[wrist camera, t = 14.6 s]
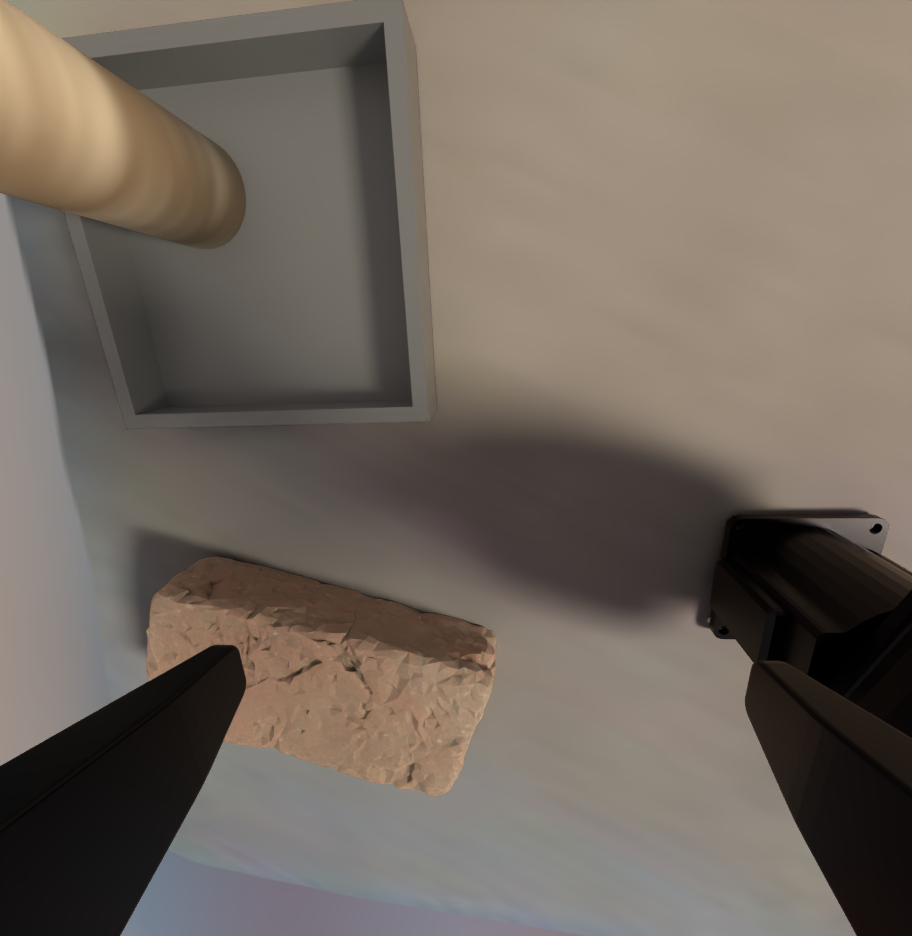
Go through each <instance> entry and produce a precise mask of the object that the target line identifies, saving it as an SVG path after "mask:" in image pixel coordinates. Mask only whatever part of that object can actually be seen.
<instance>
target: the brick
mask: <svg viewBox="0 0 912 936" xmlns="http://www.w3.org/2000/svg"><path fill="white" fill-rule="evenodd" d="M149 622H150V625H149V627H148V628H147V630H146V633H147V661H146V667H147V674H148V677H149V681H150V680H152V679H154V678H156V677H157V676H159V675H161V674H163V673H164V672H166V671H168V670H170V669H171V668H173V667H175V666H177V665H178V664H180V663H182V662H184V661H185V660H187V659H189V658H191V657H192V656H194V655H196V654H198V653H199V652H201V651H203V650H205V649H206V648H208V647H210V646H212V645H217V644H219V645H234V646H236V647H237V648H238V649H239V652H240V656H241V660H242V664H243V668H244V672H245V676H246V690H245V693H244V696H243V698H242V700H241V703H240V705H239V707H238V709H237V711H236V714H235V716H234V718H233V720H232V723H231V725H230V727H229V729H228V732H227V734H226V736H225V738H224V740H223V741H226V742H230V743H233V744H237V745H245V744H246V745H250V746H253V747H261V748H265V747H274V748H276V749H277V750H279V751H280V752H281V753H284V754H291V755H293V756H295V757H298V758H301V759H304V760H307V761H310V762H313V763H316V764H319V765H322V766H325V767H331V768H333V769H335V770H337V771H340V772H344V773H347V774H349V775H352V776H356V777H360V778H363V779H364V780H366V781H370V782H375V783H379V784H389V783H392V784H393V785H394V786H395V787H396V788H399V789H416V790H420V791H423V792H425V793H426V794H428V795H430V796H441V795H443V794H445V793H446V792H448V791H450V789H451V787H452V785H453V783H454V781H455V780H456V779H457V778H458V774H459V772H460V770H461V769H462V768H463V762H464V755H465V753H466V751H467V749H468V745H469V742H470V739H471V737H472V735H473V732H474V730H475V727H476V725H477V724H478V722H479V721H480V719H481V718H482V717H483V712H484V708H485V706H486V704H487V702H488V699H489V696H490V693H491V690H492V686H493V682H494V675H495V653H496V636H495V635H494V633H493V632H492V631H490V630H487V629H486V628H485V627H481V626H477V625H473V624H470V623H468V622H466V621H464V620H462V619H457V618H453V617H449V616H445V615H440V614H434V613H422V614H421V613H420V612H419V611H417V610H414V609H412V608H409V607H407V606H405V605H402V604H399V603H396V602H393V601H385V600H383V599H378V598H371V597H369V596H365V595H363V594H361V593H360V592H358V591H354V590H349V589H344V588H341V587H337V586H334V585H329V584H321V583H319V582H318V581H316V580H313V579H310V578H306V577H302V576H297V575H293V574H290V573H287V572H284V571H280V570H276V569H272V568H269V567H265V566H262V565H253V564H249V563H246V562H239V561H235V560H232V559H229V558H222V557H208V558H204V559H200V560H198V561H196V562H195V563H194V564H192V565H190V566H189V567H188V568H187V569H186V570H185V571H182V572H180V573H177V574H176V575H175V576H174V577H173V578H172V579H171V580H170V581H169V582H168V583H167V584H166V585H165V586H164V587H162V588H161V589H160V590H159V591H158V592H157V593H156V594H155V595H154V596H153V598H152V601H151V606H150V620H149Z"/></svg>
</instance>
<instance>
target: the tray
mask: <svg viewBox="0 0 912 936" xmlns="http://www.w3.org/2000/svg"><path fill="white" fill-rule="evenodd" d="M62 39H63V40H65V41H66V42H68V43H69V44H70V45H72V46H73V47H75V48H76V49H78V50H79V51H81V52H82V53H84V54H85V55H87V56H88V57H90V58H91V59H93V60H94V61H96V62H97V63H98V64H100V65H101V66H103V67H104V68H106V69H107V70H109V71H110V72H112V73H113V74H115V75H116V76H118V77H119V78H121V79H122V80H124V81H125V82H126V83H128V84H129V85H131V86H132V87H134V88H135V89H137V90H138V91H140V92H141V93H143V94H144V95H146V96H147V97H149V98H150V99H152V100H153V101H154V102H156V103H157V104H159V105H160V106H162V107H163V108H165V109H166V110H168V111H169V112H171V113H172V114H174V115H175V116H177V117H178V118H180V119H181V120H182V121H184V122H185V123H187V124H188V125H190V126H191V127H193V128H194V129H196V130H197V131H199V132H200V133H202V134H203V135H205V136H206V137H208V138H209V139H210V140H212V141H213V142H215V143H216V144H218V145H219V146H220V147H222V148H223V149H224V150H225V151H226V152H227V153H228V155H229V156H230V157H231V158H232V160H233V161H234V163H235V164H236V166H237V168H238V170H239V172H240V174H241V177H242V180H243V183H244V187H245V193H246V210H245V216H244V219H243V222H242V225H241V227H240V229H239V231H238V232H237V234H236V235H235V236H234V237H233V238H232V239H231V240H230V241H229V242H228V243H226V244H225V245H223V246H221V247H218V248H215V249H208V250H207V249H198V248H193V247H190V246H186V245H183V244H179V243H176V242H172V241H169V240H165V239H162V238H158V237H154V236H151V235H147V234H144V233H140V232H137V231H133V230H130V229H126V228H123V227H119V226H116V225H112V224H109V223H105V222H101V221H98V220H94V219H91V218H87V217H84V216H80V215H77V214H73V213H70V212H66V211H64V214H65V218H66V221H67V225H68V228H69V232H70V235H71V239H72V242H73V246H74V249H75V253H76V256H77V260H78V263H79V267H80V270H81V274H82V277H83V280H84V284H85V287H86V291H87V294H88V298H89V301H90V305H91V308H92V312H93V315H94V319H95V322H96V326H97V329H98V333H99V336H100V340H101V343H102V347H103V350H104V353H105V357H106V360H107V364H108V367H109V371H110V374H111V378H112V381H113V385H114V388H115V392H116V395H117V399H118V402H119V406H120V409H121V413H122V416H123V419H124V423H125V426H126V429H144V428H184V427H223V426H263V425H303V424H343V423H382V422H422V421H429V420H430V419H431V418H432V416H433V415H434V414H435V412H436V411H437V401H436V384H435V367H434V349H433V332H432V315H431V298H430V280H429V263H428V246H427V229H426V212H425V194H424V177H423V160H422V143H421V125H420V108H419V91H418V74H417V57H416V45H415V42H414V38H413V35H412V31H411V28H410V24H409V21H408V17H407V14H406V10H405V7H404V3H403V0H355V1H347V2H339V3H332V4H324V5H316V6H308V7H301V8H293V9H285V10H277V11H269V12H262V13H254V14H246V15H238V16H231V17H223V18H215V19H207V20H200V21H192V22H184V23H176V24H169V25H161V26H153V27H145V28H138V29H130V30H122V31H114V32H107V33H99V34H91V35H83V36H76V37H68V38H62Z"/></svg>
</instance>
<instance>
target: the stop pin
mask: <svg viewBox="0 0 912 936" xmlns="http://www.w3.org/2000/svg"><path fill="white" fill-rule="evenodd" d="M0 193H3V194H6V195H10V196H13V197H17V198H20V199H24V200H27V201H31V202H34V203H38V204H41V205H45V206H49V207H52V208H56V209H59V210H63V211H66V212H70V213H73V214H77V215H80V216H84V217H87V218H91V219H94V220H98V221H101V222H105V223H109V224H112V225H116V226H119V227H123V228H126V229H130V230H133V231H137V232H140V233H144V234H147V235H151V236H154V237H158V238H162V239H165V240H169V241H172V242H176V243H179V244H183V245H186V246H190V247H193V248H198V249H207V250H208V249H215V248H218V247H221V246H223V245H225V244H226V243H228V242H229V241H230V240H231V239H232V238H233V237H234V236H235V235H236V234H237V232H238V231H239V229H240V227H241V225H242V222H243V219H244V216H245V210H246V193H245V187H244V183H243V180H242V177H241V174H240V172H239V170H238V168H237V166H236V164H235V163H234V161H233V160H232V158H231V157H230V156H229V155H228V153H227V152H226V151H225V150H224V149H223V148H222V147H220V146H219V145H218V144H216V143H215V142H213V141H212V140H210V139H209V138H208V137H206V136H205V135H203V134H202V133H200V132H199V131H197V130H196V129H194V128H193V127H191V126H190V125H188V124H187V123H185V122H184V121H182V120H181V119H180V118H178V117H177V116H175V115H174V114H172V113H171V112H169V111H168V110H166V109H165V108H163V107H162V106H160V105H159V104H157V103H156V102H154V101H153V100H152V99H150V98H149V97H147V96H146V95H144V94H143V93H141V92H140V91H138V90H137V89H135V88H134V87H132V86H131V85H129V84H128V83H126V82H125V81H124V80H122V79H121V78H119V77H118V76H116V75H115V74H113V73H112V72H110V71H109V70H107V69H106V68H104V67H103V66H101V65H100V64H98V63H97V62H96V61H94V60H93V59H91V58H90V57H88V56H87V55H85V54H84V53H82V52H81V51H79V50H78V49H76V48H75V47H73V46H72V45H70V44H69V43H68V42H66V41H65V40H63V39H62V38H60V37H59V36H57V35H56V34H54V33H53V32H51V31H50V30H48V29H47V28H45V27H44V26H42V25H41V24H40V23H38V22H37V21H35V20H34V19H32V18H31V17H29V16H28V15H26V14H25V13H23V12H22V11H20V10H19V9H17V8H16V7H14V6H13V5H12V4H10V3H9V2H7V1H6V0H0Z"/></svg>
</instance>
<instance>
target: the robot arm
mask: <svg viewBox="0 0 912 936" xmlns="http://www.w3.org/2000/svg"><path fill="white" fill-rule="evenodd" d="M740 524H744V525H743V527H742V528H741V529H739V530H736V528H737V526H738V525H740ZM874 524H875V525H874ZM872 525H874V527H873V528H872V529H870V527H871V526H872ZM888 529H889V524H888V522H887V521H886V520H884V519H882V518H880V517H878V516H876V515H736V516H733V517H731V518H730V519H729V520H728V521H727V524H726V528H725V534H724V540H723V546H722V552H721V558H720V559H719V560H718V561H717V563H716V569H715V575H714V582H713V588H712V594H711V600H710V607H711V608H712V613H711V619H710V629H711V631H712V632H713V634H714V635H715V636H716V637H717V638H720V639H736V641H737V642H738V643H739V644H740V646H741V647H742V648H743V650H744V651H745V652H746V653H747V655H748V656H749V657H750V659H751V660H752V661H753V662H754V664H753V665H752V668H751V672H750V677H749V681H748V686H747V691H746V696H745V707H746V711H747V714H748V717H749V719H750V721H751V724H752V726H753V728H754V731H755V733H756V735H757V737H758V740H759V742H760V744H761V747H762V749H763V751H764V753H765V756H766V758H767V760H768V762H769V765H770V767H771V769H772V772H773V774H774V776H775V778H776V781H777V783H778V785H779V787H780V790H781V792H782V794H783V797H784V799H785V801H786V803H787V805H788V808H789V810H790V812H791V814H792V816H793V818H794V820H795V822H796V824H797V826H798V828H799V830H800V832H801V834H802V836H803V838H804V840H805V842H806V843H807V845H808V847H809V849H810V851H811V853H812V854H813V856H814V858H815V860H816V862H817V864H818V866H819V867H820V869H821V871H822V873H823V875H824V877H825V878H826V880H827V882H828V884H829V886H830V888H831V889H832V891H833V893H834V895H835V897H836V899H837V900H838V902H839V904H840V906H841V908H842V910H843V911H844V913H845V915H846V917H847V919H848V921H849V922H850V924H851V926H852V928H853V930H854V932H855V933H856V935H857V936H912V572H910V571H908V570H907V569H905V568H903V567H902V566H900V565H898V564H896V563H895V562H893V561H891V560H890V559H888V558H886V557H884V556H883V555H881V553H882V549H883V546H884V542H885V539H886V536H887V532H888ZM723 626H725V627H724V628H723V629H720V628H721V627H723ZM245 690H246V676H245V672H244V668H243V664H242V660H241V656H240V652H239V649H238V648H237V647H236V646H234V645H219V644H217V645H212V646H210V647H208V648H206V649H205V650H203V651H201V652H199V653H198V654H196V655H194V656H192V657H191V658H189V659H187V660H185V661H184V662H182V663H180V664H178V665H177V666H175V667H173V668H171V669H170V670H168V671H166V672H164V673H163V674H161V675H159V676H157V677H156V678H154V679H152V680H150V681H149V682H147V683H145V684H143V685H142V686H140V687H138V688H136V689H135V690H133V691H131V692H129V693H127V694H126V695H124V696H122V697H120V698H119V699H117V700H115V701H113V702H112V703H110V704H108V705H107V706H105V707H103V708H101V709H99V710H98V711H96V712H94V713H93V714H91V715H89V716H87V717H85V718H84V719H82V720H80V721H78V722H77V723H75V724H73V725H71V726H70V727H68V728H66V729H64V730H63V731H61V732H59V733H57V734H56V735H54V736H52V737H50V738H49V739H47V740H45V741H43V742H42V743H40V744H38V745H36V746H35V747H33V748H31V749H29V750H28V751H26V752H24V753H22V754H21V755H19V756H17V757H16V758H14V759H12V760H10V761H8V762H7V763H5V764H3V765H1V766H0V936H120V935H121V933H122V931H123V930H124V928H125V926H126V924H127V922H128V920H129V919H130V917H131V915H132V913H133V911H134V910H135V908H136V906H137V904H138V902H139V901H140V899H141V897H142V895H143V893H144V892H145V890H146V888H147V886H148V884H149V882H150V881H151V879H152V877H153V875H154V873H155V872H156V870H157V868H158V866H159V864H160V863H161V861H162V859H163V857H164V855H165V853H166V852H167V850H168V848H169V846H170V844H171V843H172V841H173V839H174V837H175V835H176V834H177V832H178V830H179V828H180V826H181V825H182V823H183V821H184V819H185V817H186V815H187V814H188V812H189V810H190V808H191V806H192V805H193V803H194V801H195V799H196V797H197V795H198V793H199V791H200V790H201V788H202V786H203V784H204V782H205V780H206V778H207V776H208V774H209V771H210V769H211V767H212V765H213V763H214V761H215V758H216V756H217V754H218V752H219V749H220V747H221V745H222V743H223V740H224V738H225V736H226V734H227V732H228V729H229V727H230V725H231V723H232V720H233V718H234V716H235V714H236V711H237V709H238V707H239V705H240V703H241V700H242V698H243V696H244V693H245Z"/></svg>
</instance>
